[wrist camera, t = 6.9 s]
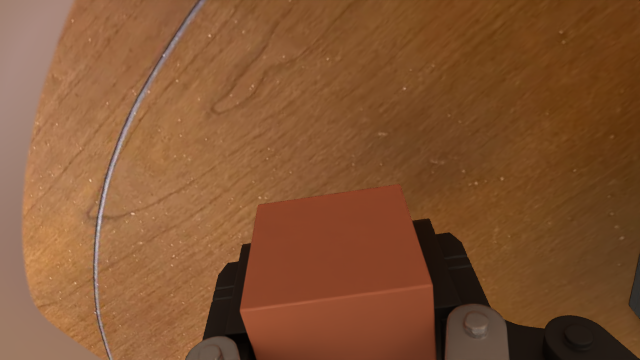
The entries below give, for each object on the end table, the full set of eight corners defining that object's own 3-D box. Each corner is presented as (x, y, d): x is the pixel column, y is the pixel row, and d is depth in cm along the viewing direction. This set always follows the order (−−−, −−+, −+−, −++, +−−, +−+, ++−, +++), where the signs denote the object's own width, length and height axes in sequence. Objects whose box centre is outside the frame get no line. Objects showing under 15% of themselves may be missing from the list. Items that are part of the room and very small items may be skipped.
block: (257, 203, 14) (238, 311, 10) (400, 183, 13) (433, 285, 10) (285, 306, 16) (277, 425, 12) (409, 290, 16) (439, 406, 12)
